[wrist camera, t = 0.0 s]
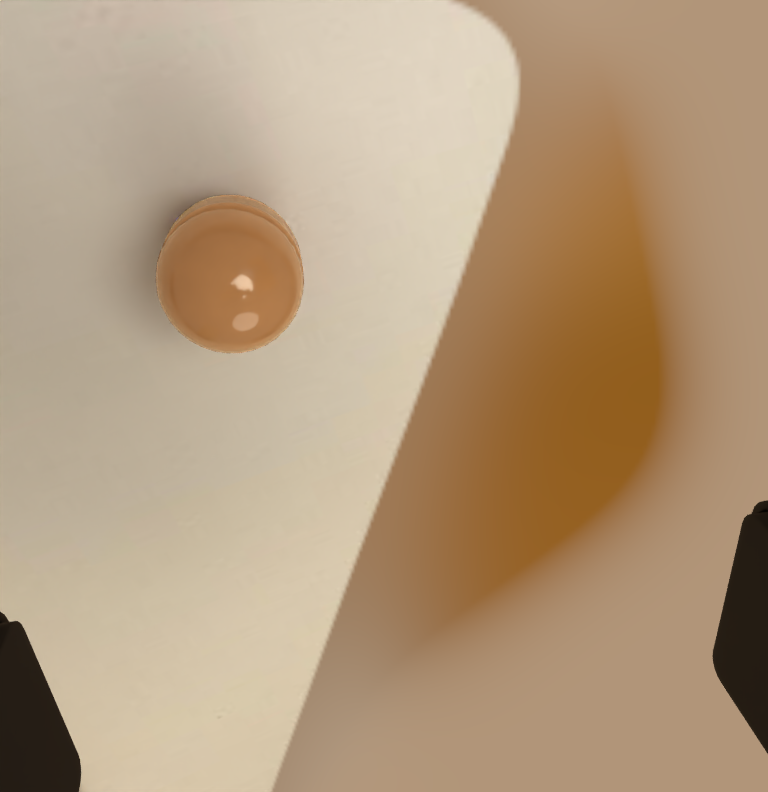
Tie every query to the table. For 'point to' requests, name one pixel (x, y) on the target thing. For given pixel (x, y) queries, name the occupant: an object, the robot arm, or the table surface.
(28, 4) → the table surface
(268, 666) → the table surface
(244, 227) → the egg
